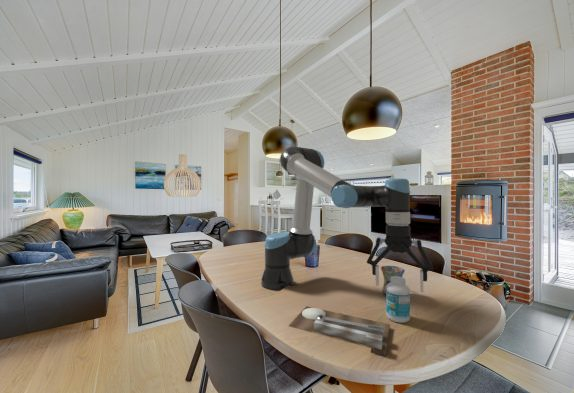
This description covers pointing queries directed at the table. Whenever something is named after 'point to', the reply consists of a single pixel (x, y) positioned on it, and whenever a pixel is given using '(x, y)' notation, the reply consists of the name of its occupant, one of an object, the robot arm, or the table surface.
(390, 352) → the table surface
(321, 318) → the tong jaw
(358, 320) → the board
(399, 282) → the pill bottle
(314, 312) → the rest pad
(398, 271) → the mug
